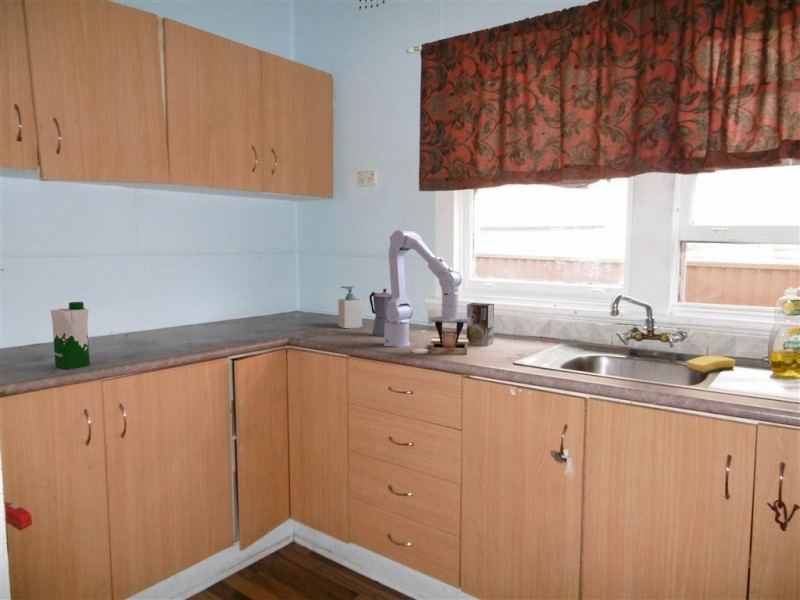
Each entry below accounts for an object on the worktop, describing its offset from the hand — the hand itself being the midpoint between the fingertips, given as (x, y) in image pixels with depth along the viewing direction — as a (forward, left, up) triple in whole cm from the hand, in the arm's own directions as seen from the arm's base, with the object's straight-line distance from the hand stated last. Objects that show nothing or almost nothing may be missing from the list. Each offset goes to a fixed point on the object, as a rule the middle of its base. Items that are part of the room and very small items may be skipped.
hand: (448, 342), depth 197 cm
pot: (0, 0, -2) cm, 2 cm away
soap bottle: (-47, +52, -4) cm, 70 cm away
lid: (0, +8, -1) cm, 8 cm away
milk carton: (-117, -39, -4) cm, 124 cm away
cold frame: (0, +4, -4) cm, 5 cm away
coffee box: (+12, +18, -4) cm, 22 cm away
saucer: (-10, -1, -4) cm, 11 cm away
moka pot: (-29, +33, -4) cm, 44 cm away
